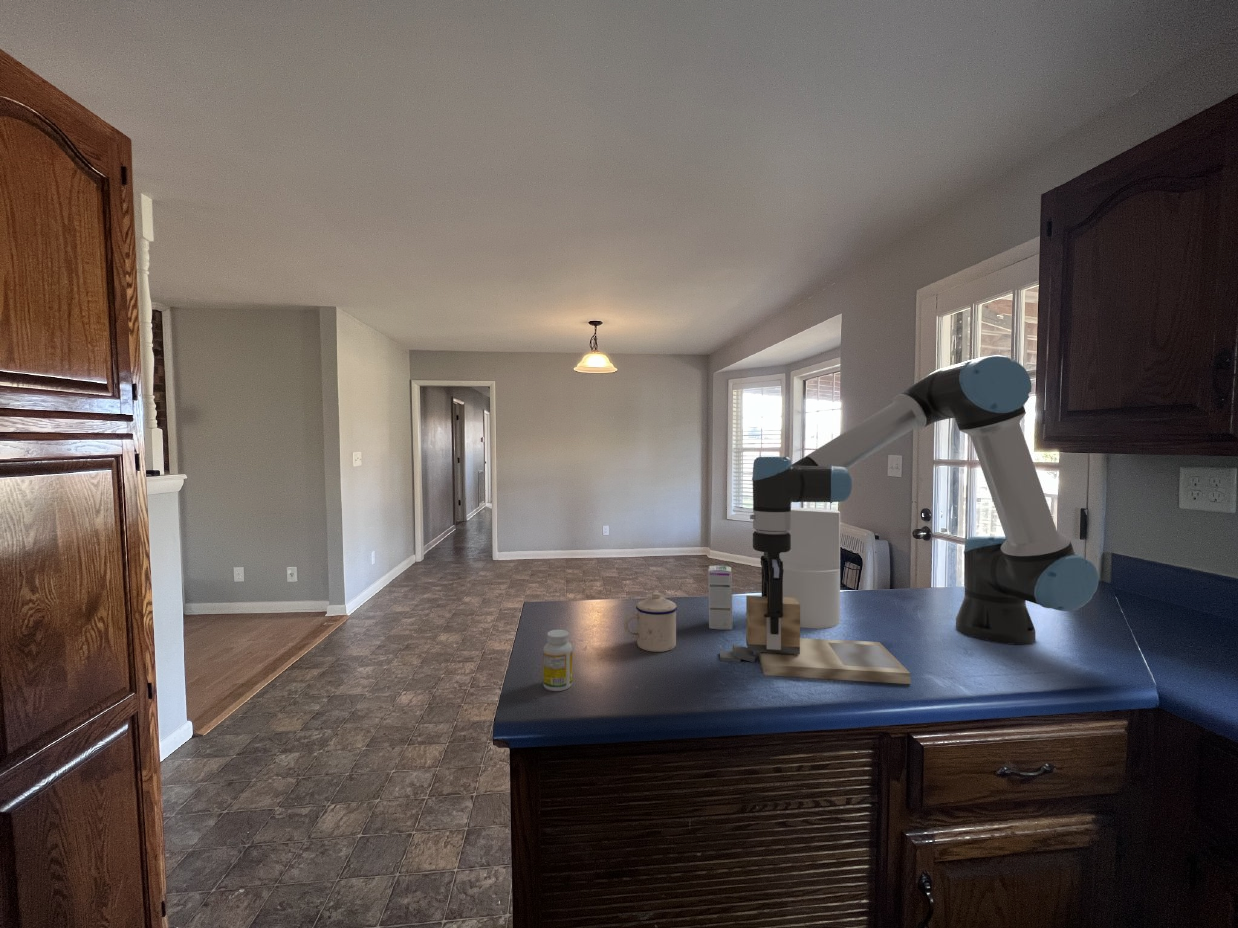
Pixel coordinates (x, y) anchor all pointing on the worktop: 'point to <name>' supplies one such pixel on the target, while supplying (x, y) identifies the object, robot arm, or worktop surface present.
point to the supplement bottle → (557, 661)
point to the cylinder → (814, 566)
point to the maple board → (837, 662)
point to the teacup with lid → (654, 624)
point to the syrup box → (720, 597)
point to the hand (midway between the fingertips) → (771, 643)
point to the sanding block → (757, 625)
